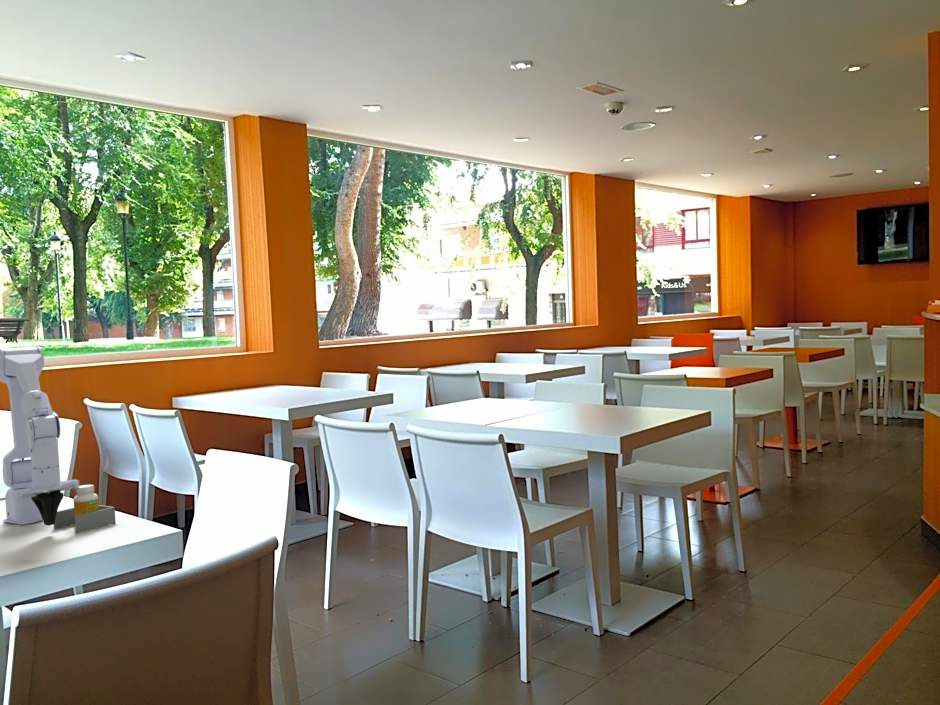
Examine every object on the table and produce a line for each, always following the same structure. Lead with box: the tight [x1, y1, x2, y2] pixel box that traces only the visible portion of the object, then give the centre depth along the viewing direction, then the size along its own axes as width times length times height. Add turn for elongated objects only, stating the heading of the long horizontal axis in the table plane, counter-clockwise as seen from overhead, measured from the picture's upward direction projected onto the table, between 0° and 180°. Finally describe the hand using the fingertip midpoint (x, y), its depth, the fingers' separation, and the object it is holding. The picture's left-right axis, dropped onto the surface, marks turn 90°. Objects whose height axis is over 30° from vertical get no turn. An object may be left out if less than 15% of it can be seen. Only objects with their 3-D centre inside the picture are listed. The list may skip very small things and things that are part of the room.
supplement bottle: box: [73, 484, 100, 516], centre depth 195 cm, size 5×5×10 cm
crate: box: [53, 504, 116, 534], centre depth 194 cm, size 10×10×4 cm
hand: (49, 524), depth 187 cm, fingers closed
